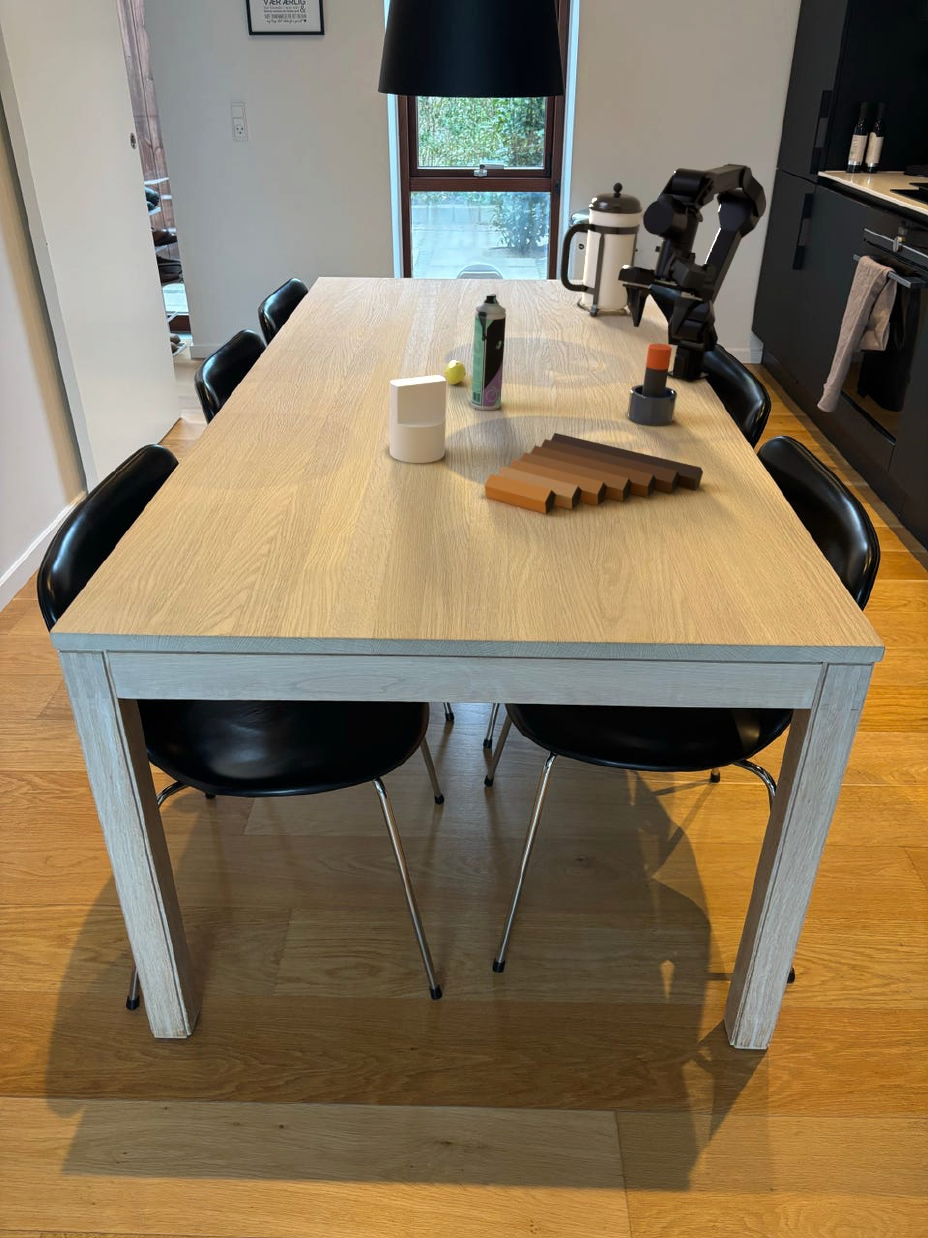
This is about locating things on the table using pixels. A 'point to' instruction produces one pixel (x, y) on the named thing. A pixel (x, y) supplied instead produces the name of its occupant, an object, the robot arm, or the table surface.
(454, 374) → the yellow potato
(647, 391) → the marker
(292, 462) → the table surface
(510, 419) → the table surface
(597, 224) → the coffee press
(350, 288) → the table surface
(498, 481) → the pan flute
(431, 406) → the base with upright slab
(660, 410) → the pen cup
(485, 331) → the spray can
